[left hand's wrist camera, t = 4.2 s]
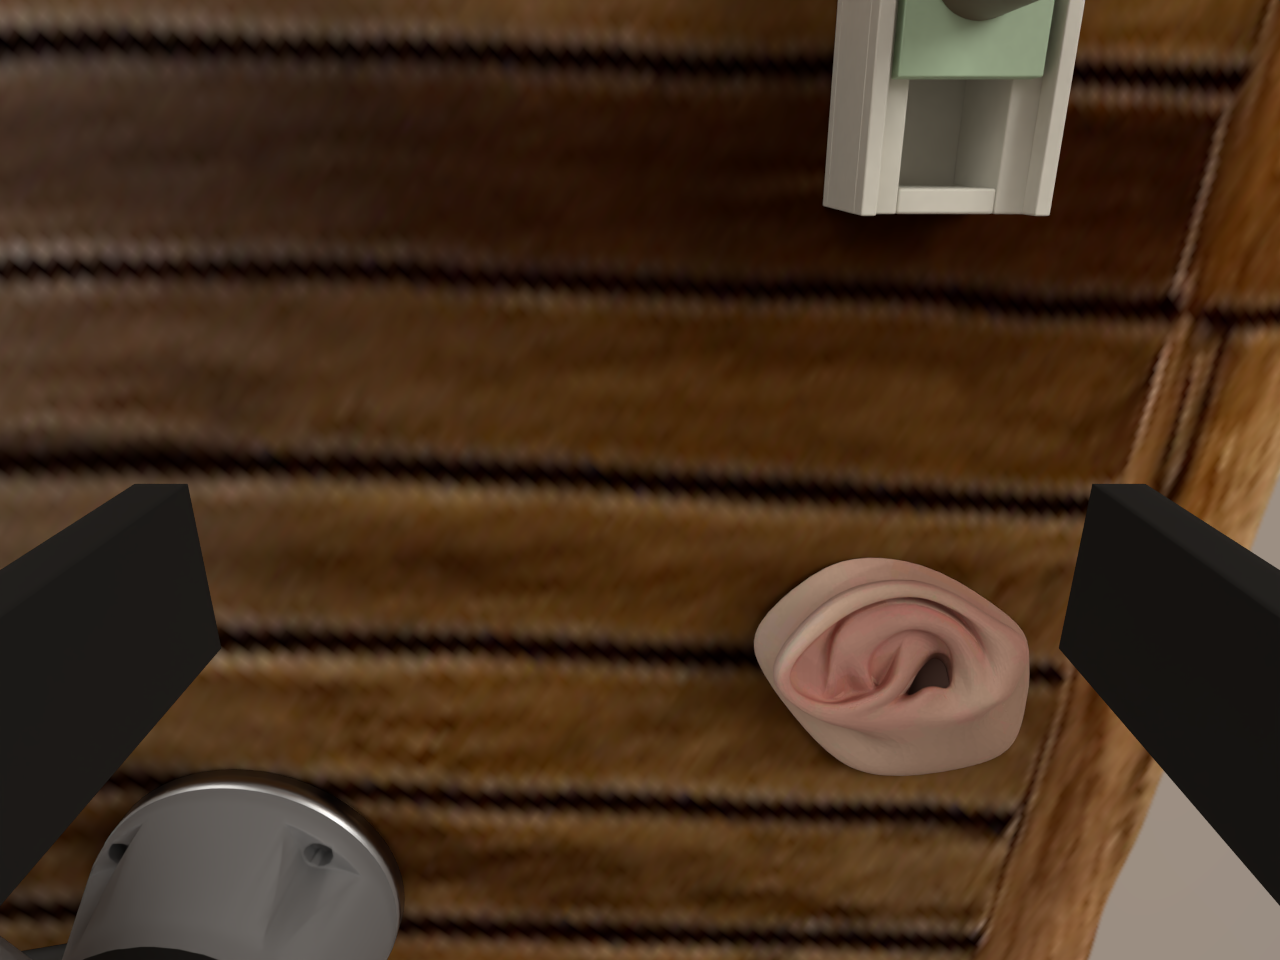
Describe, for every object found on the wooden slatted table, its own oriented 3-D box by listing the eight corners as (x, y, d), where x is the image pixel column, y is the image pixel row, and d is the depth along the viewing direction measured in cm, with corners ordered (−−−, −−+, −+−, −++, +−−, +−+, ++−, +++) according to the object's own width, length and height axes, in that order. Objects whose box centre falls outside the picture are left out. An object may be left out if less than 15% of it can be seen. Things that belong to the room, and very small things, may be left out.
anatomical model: (1103, 784, 37) (858, 876, 39) (1060, 727, 41) (839, 813, 42) (1007, 539, 33) (738, 655, 35) (969, 500, 36) (728, 607, 38)
